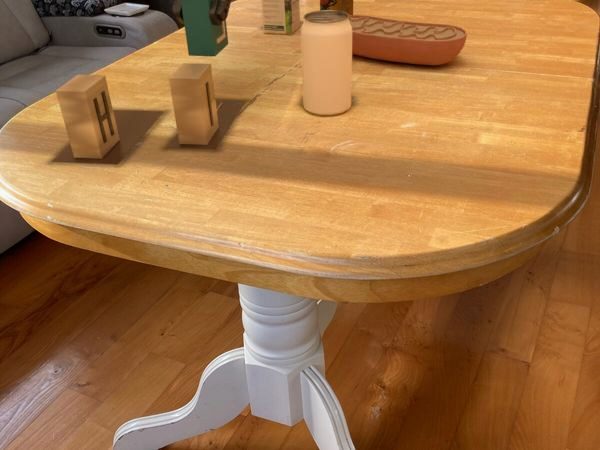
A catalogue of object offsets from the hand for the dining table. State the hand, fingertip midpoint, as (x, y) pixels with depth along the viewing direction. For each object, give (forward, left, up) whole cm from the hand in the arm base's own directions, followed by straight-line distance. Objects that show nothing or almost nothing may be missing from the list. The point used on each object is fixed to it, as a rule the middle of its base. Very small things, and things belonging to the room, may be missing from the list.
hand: (197, 20), depth 68 cm
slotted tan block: (0, -2, -13) cm, 13 cm away
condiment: (+12, +43, -13) cm, 47 cm away
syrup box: (+1, +43, -13) cm, 45 cm away
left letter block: (-11, -6, -13) cm, 18 cm away
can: (+14, +6, -13) cm, 20 cm away
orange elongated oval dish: (+22, +27, -13) cm, 38 cm away
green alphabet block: (0, +2, -4) cm, 5 cm away
